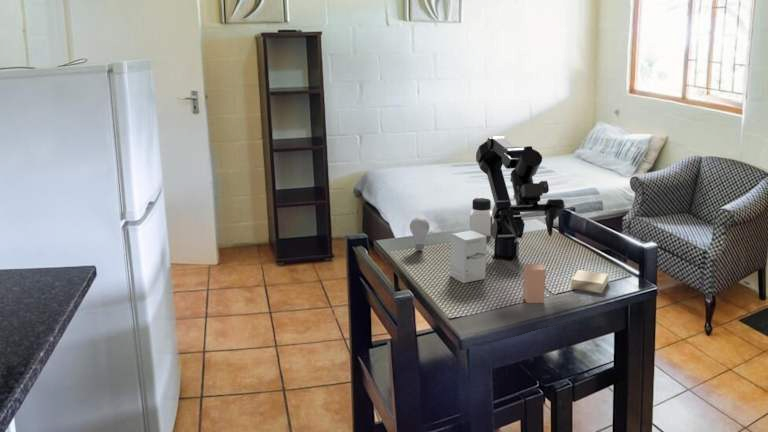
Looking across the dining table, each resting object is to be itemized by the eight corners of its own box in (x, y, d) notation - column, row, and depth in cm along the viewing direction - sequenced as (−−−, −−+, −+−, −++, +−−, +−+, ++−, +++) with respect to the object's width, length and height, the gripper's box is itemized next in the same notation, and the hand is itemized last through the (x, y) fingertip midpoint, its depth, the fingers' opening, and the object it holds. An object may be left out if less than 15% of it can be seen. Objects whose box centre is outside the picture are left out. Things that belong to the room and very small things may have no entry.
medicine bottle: (490, 236, 235) (491, 201, 232) (469, 235, 236) (470, 201, 233) (492, 230, 242) (493, 196, 239) (471, 229, 243) (471, 195, 240)
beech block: (571, 289, 189) (571, 279, 189) (577, 280, 196) (578, 269, 196) (601, 294, 186) (602, 283, 185) (607, 284, 193) (608, 274, 192)
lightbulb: (432, 249, 223) (433, 216, 220) (423, 255, 218) (423, 220, 215) (416, 246, 226) (416, 213, 223) (406, 252, 221) (406, 218, 218)
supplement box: (464, 284, 194) (464, 240, 190) (449, 275, 200) (449, 233, 196) (486, 279, 197) (487, 236, 193) (471, 271, 203) (471, 229, 200)
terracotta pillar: (522, 296, 184) (524, 264, 182) (539, 296, 184) (541, 263, 182) (527, 303, 180) (528, 269, 178) (544, 302, 180) (545, 269, 178)
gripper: (495, 171, 188) (505, 222, 180) (564, 169, 190) (576, 219, 182) (488, 194, 198) (497, 243, 190) (553, 191, 199) (564, 240, 191)
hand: (533, 236), depth 188 cm, fingers open, 9 cm apart
